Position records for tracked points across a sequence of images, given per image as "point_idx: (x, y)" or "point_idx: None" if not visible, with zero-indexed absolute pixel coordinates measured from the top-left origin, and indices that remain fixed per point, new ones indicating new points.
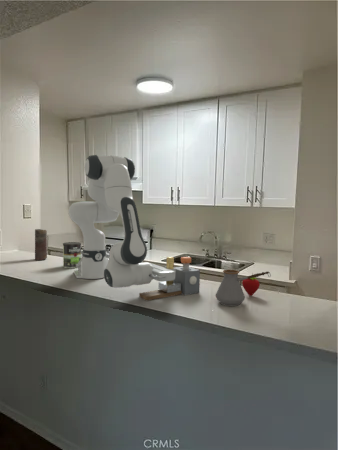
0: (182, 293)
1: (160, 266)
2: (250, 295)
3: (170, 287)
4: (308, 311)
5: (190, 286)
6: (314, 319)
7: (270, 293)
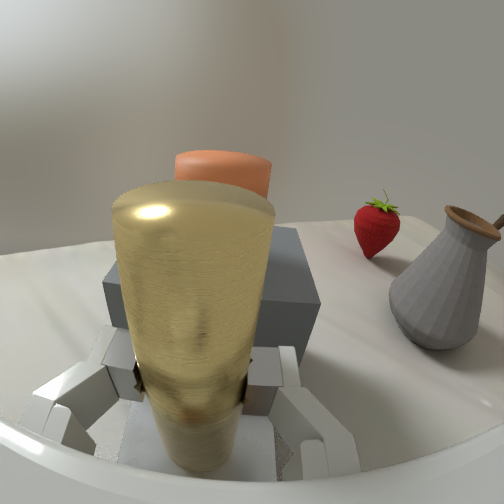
0: None
1: (134, 498)
2: (372, 256)
3: None
4: None
5: None
6: (495, 275)
7: None
